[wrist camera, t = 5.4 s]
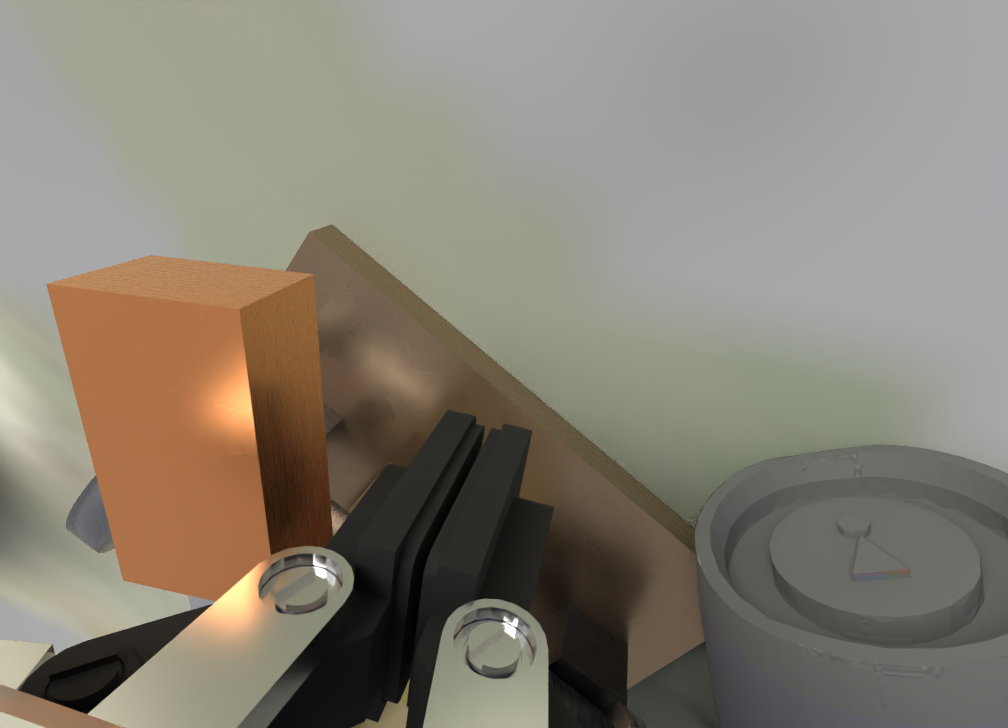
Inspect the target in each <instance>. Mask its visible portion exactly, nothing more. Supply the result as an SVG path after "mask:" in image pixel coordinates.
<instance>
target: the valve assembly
mask: <svg viewBox="0 0 1008 728" xmlns="http://www.w3.org/2000/svg"><path fill="white" fill-rule="evenodd" d="M286 271H290V272H299V273H307V274H314V285H315V298H316V312H317V325H318V339H319V352H320V366H321V379H322V393H323V406H324V420H325V433H326V447H327V460H328V474H329V487H330V501H331V514H332V528H333V536H334V535H335V533H336V532H337V531H338V529H339V528H340V527H341V525H342V524H343V523H344V521H345V520H346V519H347V517H348V516H349V515H350V513H351V512H352V511H353V509H354V508H355V507H356V505H357V504H358V503H359V501H360V500H361V499H362V497H363V496H364V495H365V493H366V492H367V491H368V489H369V488H370V487H371V485H372V484H373V483H374V481H375V480H376V479H377V477H378V476H379V475H380V473H381V472H382V471H383V469H384V468H385V467H386V466H387V465H388V464H391V463H392V464H396V465H399V466H403V467H407V468H408V467H409V465H410V464H411V462H412V461H413V459H414V458H415V456H416V455H417V454H418V452H419V451H420V449H421V448H422V446H423V445H424V443H425V442H426V440H427V439H428V437H429V436H430V435H431V433H432V432H433V430H434V429H435V427H436V426H437V424H438V423H439V421H440V420H441V418H442V417H443V416H444V414H445V413H446V411H447V410H453V411H457V412H461V413H465V414H469V415H473V416H476V424H479V425H483V426H484V427H485V431H484V438H483V444H484V442H485V440H486V438H487V436H488V434H489V432H490V430H491V428H495V429H499V430H501V429H502V427H503V425H504V424H509V425H513V426H517V427H521V428H525V429H529V430H532V435H531V440H530V445H529V450H528V455H527V460H526V465H525V470H524V475H523V480H522V485H521V490H520V495H519V497H520V498H523V499H527V500H531V501H535V502H538V503H542V504H546V505H550V506H553V507H554V510H553V515H552V519H551V523H550V528H549V532H548V536H547V540H546V545H545V549H544V553H543V558H542V562H541V566H540V570H539V575H538V579H537V583H536V588H535V592H534V596H533V600H532V605H531V609H530V614H531V615H532V616H533V617H534V618H535V619H536V620H537V621H538V622H539V624H540V626H541V628H542V630H543V631H544V633H545V635H546V640H547V645H548V681H549V682H550V683H551V685H552V686H553V688H554V689H555V690H556V692H557V693H558V695H559V696H560V697H561V699H562V700H563V702H564V703H565V704H566V706H567V707H568V709H569V710H570V711H571V713H572V714H573V716H574V717H575V718H576V720H577V721H578V723H579V724H580V725H581V727H582V728H647V727H646V725H645V724H644V722H643V721H642V720H641V719H640V718H639V717H638V716H637V715H635V714H634V713H633V712H632V711H630V710H629V709H628V708H627V689H629V688H631V687H632V686H634V685H635V684H637V683H639V682H640V681H642V680H643V679H645V678H647V677H648V676H650V675H651V674H653V673H655V672H656V671H658V670H659V669H661V668H663V667H664V666H666V665H667V664H669V663H671V662H672V661H674V660H675V659H677V658H679V657H680V656H682V655H683V654H685V653H687V652H688V651H690V650H691V649H693V648H695V647H696V646H698V645H699V644H701V643H703V642H704V641H705V639H704V633H703V627H702V621H701V615H700V607H699V597H698V588H697V572H696V554H695V529H694V528H693V527H691V526H690V525H689V524H688V523H687V522H686V521H684V520H683V519H682V518H681V517H680V516H678V515H677V514H676V513H675V512H674V511H672V510H671V509H670V508H669V507H668V506H666V505H665V504H664V503H663V502H662V501H660V500H659V499H658V498H657V497H656V496H655V495H653V494H652V493H651V492H650V491H649V490H647V489H646V488H645V487H644V486H643V485H641V484H640V483H639V482H638V481H637V480H635V479H634V478H633V477H632V476H631V475H629V474H628V473H627V472H626V471H625V470H624V469H622V468H621V467H620V466H619V465H618V464H616V463H615V462H614V461H613V460H612V459H610V458H609V457H608V456H607V455H606V454H604V453H603V452H602V451H601V450H600V449H598V448H597V447H596V446H595V445H594V444H593V443H591V442H590V441H589V440H588V439H587V438H585V437H584V436H583V435H582V434H581V433H579V432H578V431H577V430H576V429H575V428H573V427H572V426H571V425H570V424H569V423H567V422H566V421H565V420H564V419H563V418H562V417H560V416H559V415H558V414H557V413H556V412H554V411H553V410H552V409H551V408H550V407H548V406H547V405H546V404H545V403H544V402H542V401H541V400H540V399H539V398H538V397H536V396H535V395H534V394H533V393H532V392H531V391H529V390H528V389H527V388H526V387H525V386H523V385H522V384H521V383H520V382H519V381H517V380H516V379H515V378H514V377H513V376H511V375H510V374H509V373H508V372H507V371H506V370H504V369H503V368H502V367H501V366H500V365H498V364H497V363H496V362H495V361H494V360H492V359H491V358H490V357H489V356H488V355H486V354H485V353H484V352H483V351H482V350H480V349H479V348H478V347H477V346H476V345H475V344H473V343H472V342H471V341H470V340H469V339H467V338H466V337H465V336H464V335H463V334H461V333H460V332H459V331H458V330H457V329H455V328H454V327H453V326H452V325H451V324H449V323H448V322H447V321H446V320H445V319H444V318H442V317H441V316H440V315H439V314H438V313H436V312H435V311H434V310H433V309H432V308H430V307H429V306H428V305H427V304H426V303H424V302H423V301H422V300H421V299H420V298H418V297H417V296H416V295H415V294H414V293H413V292H411V291H410V290H409V289H408V288H407V287H405V286H404V285H403V284H402V283H401V282H399V281H398V280H397V279H396V278H395V277H393V276H392V275H391V274H390V273H389V272H387V271H386V270H385V269H384V268H383V267H382V266H380V265H379V264H378V263H377V262H376V261H374V260H373V259H372V258H371V257H370V256H368V255H367V254H366V253H365V252H364V251H362V250H361V249H360V248H359V247H358V246H356V245H355V244H354V243H353V242H352V241H351V240H349V239H348V238H347V237H346V236H345V235H343V234H342V233H341V232H340V231H339V230H337V229H336V228H335V227H334V226H333V225H329V226H326V227H323V228H320V229H317V230H314V231H311V232H309V234H308V235H307V237H306V238H305V240H304V242H303V243H302V245H301V247H300V248H299V250H298V251H297V253H296V255H295V256H294V258H293V260H292V261H291V263H290V264H289V266H288V268H287V269H286ZM483 444H482V446H483ZM66 528H67V530H68V531H70V532H71V533H72V534H74V535H75V536H76V537H78V538H79V539H80V540H82V541H83V542H85V543H86V544H87V545H89V546H90V547H91V548H93V549H94V550H95V551H97V552H98V553H104V552H107V551H110V550H112V549H114V548H115V546H114V542H113V539H112V535H111V531H110V527H109V523H108V519H107V515H106V512H105V508H104V504H103V500H102V496H101V492H100V488H99V485H98V481H97V477H96V476H95V477H94V478H93V479H92V480H91V481H90V483H89V484H88V485H87V487H86V488H85V489H84V490H83V492H82V493H81V495H80V496H79V498H78V499H77V500H76V502H75V504H74V505H73V507H72V509H71V511H70V513H69V515H68V518H67V521H66ZM409 682H410V679H409V681H408V684H407V686H406V688H405V691H404V693H403V695H402V698H401V700H400V701H399V703H398V704H395V703H392V702H389V701H387V703H386V706H385V708H384V710H383V712H382V715H381V717H380V719H379V721H378V722H375V721H372V720H369V719H366V720H365V722H363V723H360V724H358V725H356V726H354V727H352V728H406V722H407V714H408V707H407V697H408V689H409Z"/></svg>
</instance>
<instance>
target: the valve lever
mask: <svg viewBox="0 0 1008 728" xmlns="http://www.w3.org/2000/svg"><path fill="white" fill-rule="evenodd" d="M47 288H48V292H49V296H50V299H51V303H52V307H53V311H54V315H55V319H56V323H57V326H58V330H59V334H60V338H61V342H62V346H63V350H64V353H65V357H66V361H67V365H68V369H69V373H70V377H71V380H72V384H73V388H74V392H75V396H76V400H77V404H78V407H79V411H80V415H81V419H82V423H83V427H84V431H85V434H86V438H87V442H88V446H89V450H90V454H91V458H92V461H93V465H94V469H95V473H96V477H97V481H98V485H99V488H100V492H101V496H102V500H103V504H104V508H105V512H106V515H107V519H108V523H109V527H110V531H111V535H112V539H113V542H114V546H115V550H116V554H117V558H118V562H119V566H120V569H121V573H122V577H123V580H124V581H128V582H133V583H137V584H142V585H146V586H150V587H155V588H159V589H163V590H168V591H172V592H177V593H181V594H185V595H188V596H189V601H190V606H191V610H193V609H197V608H200V607H203V606H207V605H210V604H214V603H215V602H216V601H217V600H218V599H220V598H221V597H222V596H223V595H224V594H225V593H226V592H228V591H229V590H230V589H231V588H232V587H233V586H234V585H236V584H237V583H238V582H239V581H240V580H241V579H242V578H244V577H245V576H246V575H247V574H248V573H249V572H250V571H252V570H253V569H254V568H255V567H256V566H257V565H258V564H260V563H261V562H262V561H264V560H265V559H267V558H268V557H270V556H271V555H273V554H275V553H278V552H280V551H283V550H286V549H288V548H295V547H301V546H314V547H322V548H325V546H326V545H327V544H328V543H329V541H330V540H331V539H332V537H333V528H332V514H331V501H330V487H329V474H328V460H327V447H326V433H325V420H324V406H323V393H322V379H321V366H320V352H319V339H318V325H317V312H316V298H315V285H314V274H307V273H299V272H290V271H282V270H273V269H264V268H256V267H247V266H238V265H230V264H221V263H212V262H204V261H195V260H187V259H178V258H169V257H161V256H152V255H150V256H147V257H143V258H139V259H136V260H132V261H128V262H125V263H121V264H118V265H114V266H111V267H107V268H103V269H99V270H96V271H92V272H88V273H85V274H81V275H77V276H74V277H70V278H66V279H63V280H59V281H55V282H52V283H48V284H47Z"/></svg>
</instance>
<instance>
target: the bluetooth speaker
mask: <svg viewBox="0 0 1008 728" xmlns="http://www.w3.org/2000/svg"><path fill="white" fill-rule="evenodd" d="M695 554H696V572H697V588H698V597H699V607H700V615H701V621H702V627H703V633H704V639H705V645H706V651H707V657H708V663H709V669H710V675H711V681H712V687H713V692H714V697H715V703H716V708H717V713H718V718H719V724H720V728H1008V474H1007V473H1005V472H1003V471H1000V470H998V469H995V468H993V467H990V466H988V465H985V464H982V463H979V462H976V461H973V460H970V459H966V458H963V457H960V456H956V455H952V454H948V453H943V452H938V451H933V450H928V449H922V448H915V447H908V446H897V445H871V446H862V447H853V448H846V449H839V450H831V451H823V452H816V453H809V454H803V455H796V456H789V457H782V458H776V459H771V460H767V461H764V462H761V463H759V464H756V465H753V466H751V467H748V468H746V469H744V470H743V471H741V472H739V473H738V474H736V475H735V476H733V477H731V478H730V479H728V480H727V481H726V482H725V483H724V484H722V485H721V486H720V487H719V488H718V489H717V490H716V491H715V492H714V493H713V494H712V495H711V496H710V498H709V499H708V501H707V502H706V503H705V505H704V506H703V508H702V510H701V512H700V515H699V517H698V520H697V524H696V528H695Z"/></svg>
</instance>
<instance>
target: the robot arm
mask: <svg viewBox="0 0 1008 728" xmlns="http://www.w3.org/2000/svg"><path fill="white" fill-rule="evenodd" d="M484 431H485V427H484V426H483V425H479V424H476V416H473V415H469V414H465V413H461V412H457V411H453V410H447V411H446V413H445V414H444V416H443V417H442V418H441V420H440V421H439V423H438V424H437V426H436V427H435V429H434V430H433V432H432V433H431V435H430V436H429V437H428V439H427V440H426V442H425V443H424V445H423V446H422V448H421V449H420V451H419V452H418V454H417V455H416V456H415V458H414V459H413V461H412V462H411V464H410V465H409V467H408V468H407V467H403V466H399V465H396V464H392V463H391V464H388V465H387V466H386V467H385V468H384V469H383V471H382V472H381V473H380V475H379V476H378V477H377V479H376V480H375V481H374V483H373V484H372V485H371V487H370V488H369V489H368V491H367V492H366V493H365V495H364V496H363V497H362V499H361V500H360V501H359V503H358V504H357V505H356V507H355V508H354V509H353V511H352V512H351V513H350V515H349V516H348V517H347V519H346V520H345V521H344V523H343V524H342V525H341V527H340V528H339V529H338V531H337V532H336V533H335V535H334V536H333V537H332V539H331V540H330V541H329V543H328V544H327V545H326V546H325V548H322V547H314V546H301V547H295V548H288V549H286V550H283V551H280V552H278V553H275V554H273V555H271V556H270V557H268V558H267V559H265V560H264V561H262V562H261V563H260V564H258V565H257V566H256V567H255V568H254V569H253V570H252V571H250V572H249V573H248V574H247V575H246V576H245V577H244V578H242V579H241V580H240V581H239V582H238V583H237V584H236V585H234V586H233V587H232V588H231V589H230V590H229V591H228V592H226V593H225V594H224V595H223V596H222V597H221V598H220V599H218V600H217V601H216V602H215V603H214V604H210V605H207V606H203V607H200V608H197V609H193V610H190V611H186V612H183V613H180V614H176V615H173V616H169V617H166V618H163V619H159V620H156V621H152V622H149V623H146V624H142V625H139V626H135V627H132V628H129V629H125V630H122V631H118V632H115V633H112V634H108V635H105V636H101V637H98V638H95V639H91V640H88V641H85V642H82V643H80V644H77V645H75V646H72V647H70V648H67V649H65V650H64V651H62V652H60V653H54V648H53V644H46V643H33V642H23V641H11V640H0V728H352V727H354V726H356V725H358V724H360V723H363V722H365V720H366V719H369V720H372V721H375V722H378V721H379V719H380V717H381V715H382V712H383V710H384V708H385V706H386V703H387V701H389V702H392V703H395V704H398V703H399V701H400V700H401V698H402V695H403V693H404V691H405V688H406V686H407V684H408V681H409V679H410V682H409V689H408V697H407V707H408V714H407V722H406V728H582V727H581V725H580V724H579V723H578V721H577V720H576V718H575V717H574V716H573V714H572V713H571V711H570V710H569V709H568V707H567V706H566V704H565V703H564V702H563V700H562V699H561V697H560V696H559V695H558V693H557V692H556V690H555V689H554V688H553V686H552V685H551V683H550V682H549V681H548V645H547V640H546V635H545V633H544V631H543V630H542V628H541V626H540V624H539V622H538V621H537V620H536V619H535V618H534V617H533V616H532V615H531V614H530V609H531V605H532V600H533V596H534V592H535V588H536V583H537V579H538V575H539V570H540V566H541V562H542V558H543V553H544V549H545V545H546V540H547V536H548V532H549V528H550V523H551V519H552V515H553V510H554V507H553V506H550V505H546V504H542V503H538V502H535V501H531V500H527V499H523V498H520V497H519V495H520V490H521V485H522V480H523V475H524V470H525V465H526V460H527V455H528V450H529V445H530V440H531V435H532V430H529V429H525V428H521V427H517V426H513V425H509V424H504V425H503V427H502V429H501V430H499V429H495V428H491V430H490V432H489V434H488V436H487V438H486V440H485V442H484V444H483V438H484ZM482 444H483V446H482Z"/></svg>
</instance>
